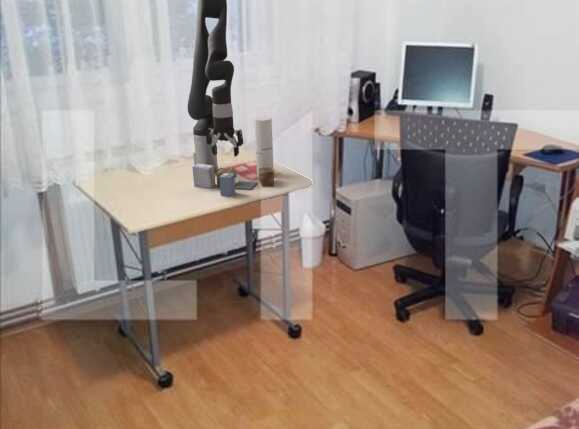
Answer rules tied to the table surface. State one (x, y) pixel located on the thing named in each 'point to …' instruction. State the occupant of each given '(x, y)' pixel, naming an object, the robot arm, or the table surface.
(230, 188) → the block
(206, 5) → the robot arm
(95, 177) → the table surface
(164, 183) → the table surface
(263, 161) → the cylindrical container
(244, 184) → the pad
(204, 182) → the medicine box
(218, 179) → the bearing block
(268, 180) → the bearing block
